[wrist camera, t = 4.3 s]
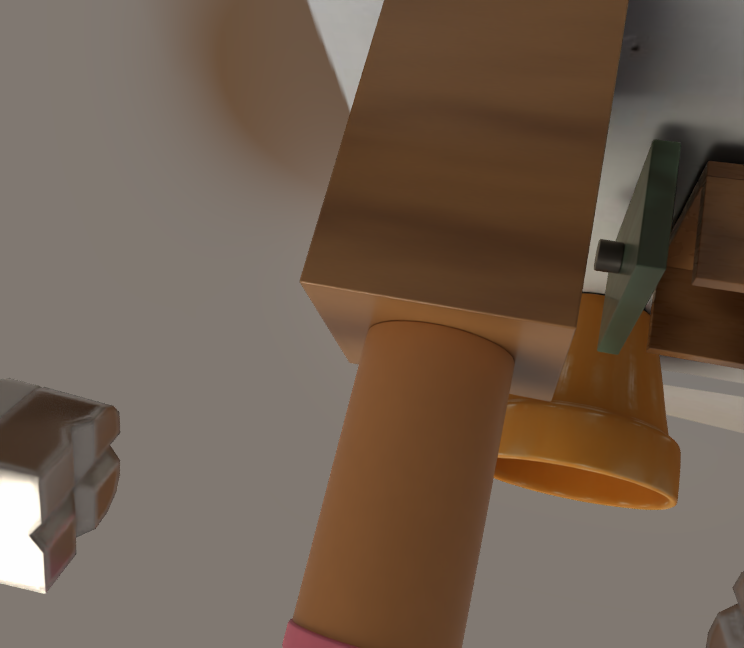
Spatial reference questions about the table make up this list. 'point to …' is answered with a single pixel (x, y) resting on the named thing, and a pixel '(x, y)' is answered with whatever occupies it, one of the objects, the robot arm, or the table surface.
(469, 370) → the pink-rimmed cylinder
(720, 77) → the table surface
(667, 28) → the table surface
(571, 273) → the stand
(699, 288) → the drawer
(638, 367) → the flower pot
